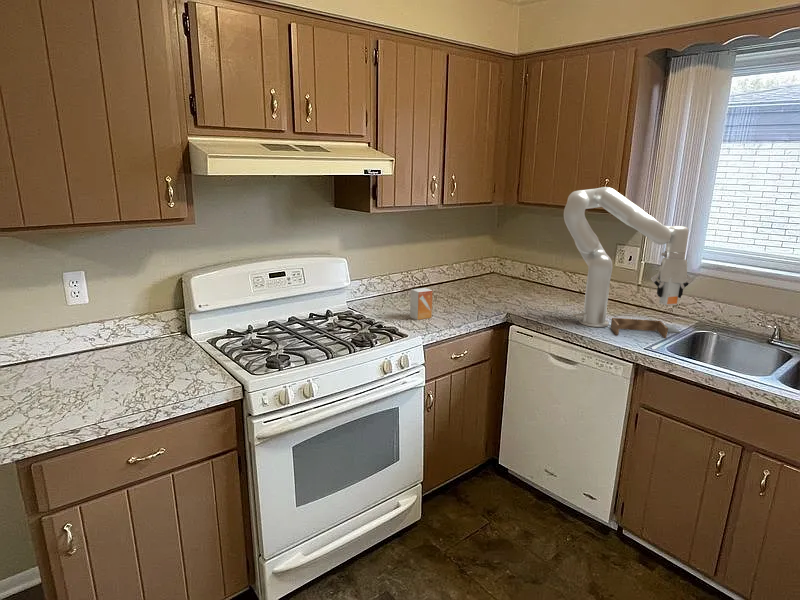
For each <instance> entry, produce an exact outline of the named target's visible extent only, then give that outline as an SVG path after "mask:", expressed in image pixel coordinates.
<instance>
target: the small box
mask: <svg viewBox="0 0 800 600" xmlns="http://www.w3.org/2000/svg"><path fill="white" fill-rule="evenodd" d="M433 292H434V291H433V290H432V289H430V288H427V287H420V288H414V289H413V288H412V289H410V301H409V302H410V303H409V305H410V307H409V317H410V318H411V319H414V320H417V321H421V320H426V319H432V315H433Z"/></svg>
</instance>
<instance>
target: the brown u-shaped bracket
mask: <svg viewBox="0 0 800 600" xmlns="http://www.w3.org/2000/svg"><path fill="white" fill-rule="evenodd" d="M665 325H666V324H664V323H663V322H662V321H661V320H656V319H655V320H654V319H653V320H652V319H651V320H650V319H637V318H636V319H635V318H620V317H619V318H618V317H611V322H610V329H611V330H612V331H613V333H614V334H615V336H619V332H620V330H633V331H646V332H647V331H649V332H655V330H658V332H657V333H658V334H659V335H661V337H662V338H664V339H667V336H668V332H667V331H668V327H666V326H665Z"/></svg>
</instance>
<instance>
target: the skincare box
mask: <svg viewBox="0 0 800 600" xmlns="http://www.w3.org/2000/svg"><path fill="white" fill-rule="evenodd" d="M662 288H663V290H662V297H659V299H658V300H659V302H658V304H660V305H664V306H677V305H678V301H679V297H678V296H679V290H680V283H672V278H669V282H668V283H664V284H663V286H662Z"/></svg>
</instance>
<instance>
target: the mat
mask: <svg viewBox="0 0 800 600" xmlns="http://www.w3.org/2000/svg"><path fill="white" fill-rule="evenodd" d="M664 325H665V326H666V327H668V331H667V334H668V333H669V334H681V331H680V330H679V329H678V328H677V327H675V325H674V324H673V325H672V324H664ZM654 332H656V333H658V330H655V331H654Z"/></svg>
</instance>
